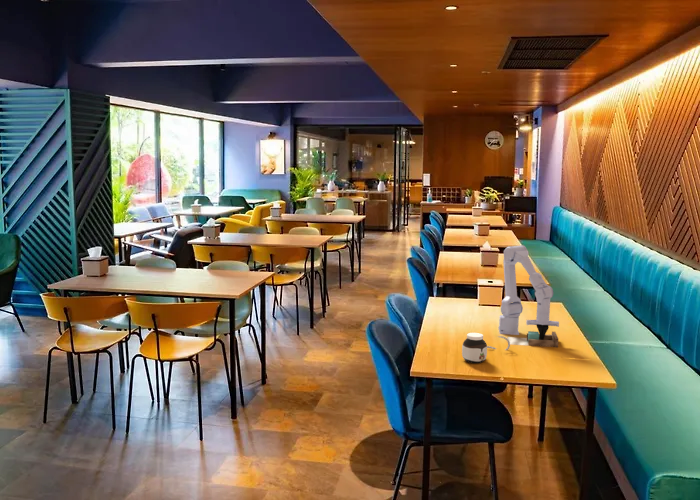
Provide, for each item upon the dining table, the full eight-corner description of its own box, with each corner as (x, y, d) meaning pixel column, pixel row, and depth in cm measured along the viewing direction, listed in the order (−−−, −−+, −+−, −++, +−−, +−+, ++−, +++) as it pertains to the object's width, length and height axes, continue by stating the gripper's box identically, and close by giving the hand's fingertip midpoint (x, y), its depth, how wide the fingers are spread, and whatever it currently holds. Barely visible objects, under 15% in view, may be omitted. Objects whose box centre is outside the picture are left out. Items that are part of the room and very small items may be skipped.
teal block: (528, 343, 292) (529, 333, 291) (527, 340, 296) (528, 331, 295) (538, 343, 291) (539, 334, 290) (537, 340, 295) (538, 331, 295)
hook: (510, 354, 276) (465, 356, 283) (511, 348, 285) (467, 350, 292) (508, 338, 276) (463, 340, 282) (509, 333, 285) (466, 335, 291)
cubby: (508, 345, 290) (509, 335, 289) (507, 338, 302) (507, 328, 301) (557, 348, 286) (558, 338, 285) (554, 341, 297) (555, 331, 297)
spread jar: (469, 365, 262) (470, 338, 260) (454, 357, 272) (455, 331, 271) (492, 361, 267) (494, 335, 265) (477, 354, 277) (478, 328, 275)
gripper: (527, 313, 288) (526, 341, 290) (560, 315, 285) (558, 343, 287) (526, 309, 295) (525, 337, 297) (558, 311, 292) (556, 339, 294)
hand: (541, 340), depth 293 cm, fingers closed
